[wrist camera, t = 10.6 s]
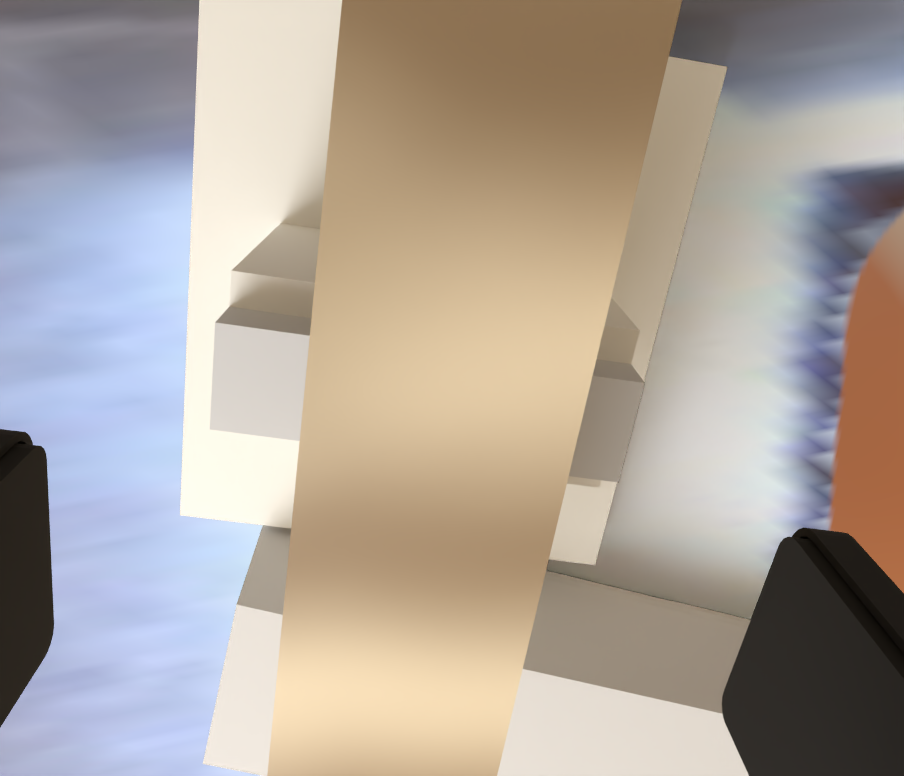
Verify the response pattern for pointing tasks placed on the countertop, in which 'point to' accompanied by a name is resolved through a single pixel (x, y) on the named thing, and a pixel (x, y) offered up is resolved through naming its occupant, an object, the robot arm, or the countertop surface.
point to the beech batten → (451, 362)
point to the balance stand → (295, 259)
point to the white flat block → (534, 681)
